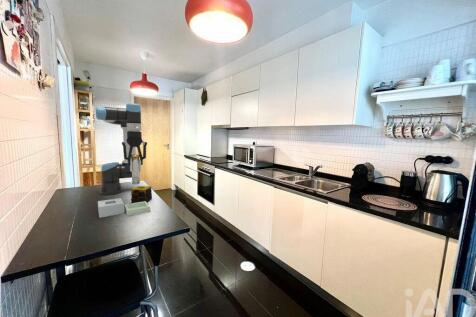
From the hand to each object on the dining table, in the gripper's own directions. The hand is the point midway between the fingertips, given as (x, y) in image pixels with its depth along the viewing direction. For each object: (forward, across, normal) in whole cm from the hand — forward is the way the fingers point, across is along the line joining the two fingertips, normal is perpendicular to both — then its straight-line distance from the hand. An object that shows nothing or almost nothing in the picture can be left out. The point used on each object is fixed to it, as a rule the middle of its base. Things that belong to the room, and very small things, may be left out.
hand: (135, 170), depth 119 cm
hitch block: (+25, -13, +6) cm, 28 cm away
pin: (+8, 0, 0) cm, 8 cm away
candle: (+25, +6, +17) cm, 31 cm away
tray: (+25, 0, 0) cm, 25 cm away
